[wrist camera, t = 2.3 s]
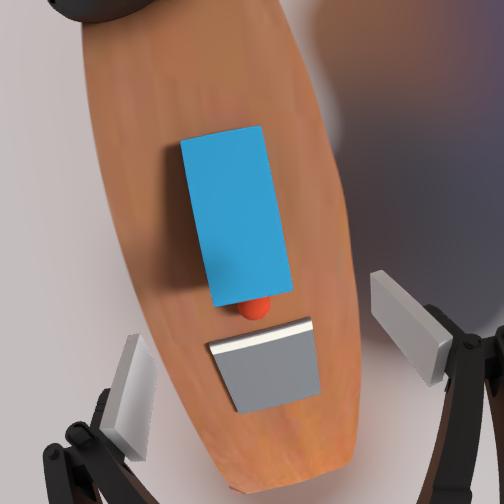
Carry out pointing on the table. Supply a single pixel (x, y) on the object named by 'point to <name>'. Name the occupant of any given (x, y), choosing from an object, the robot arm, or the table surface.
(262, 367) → the mat
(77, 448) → the robot arm
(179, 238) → the table surface
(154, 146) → the table surface
